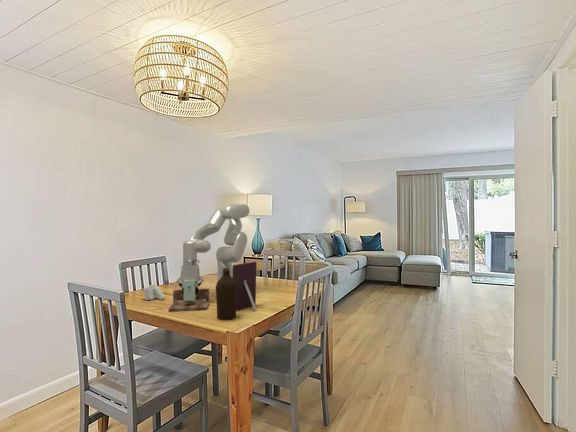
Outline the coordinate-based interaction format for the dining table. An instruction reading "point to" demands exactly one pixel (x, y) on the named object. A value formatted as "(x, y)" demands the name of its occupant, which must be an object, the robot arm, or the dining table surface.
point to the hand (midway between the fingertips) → (190, 294)
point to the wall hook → (153, 292)
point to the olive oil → (226, 296)
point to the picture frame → (245, 285)
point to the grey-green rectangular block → (189, 290)
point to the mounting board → (197, 304)
